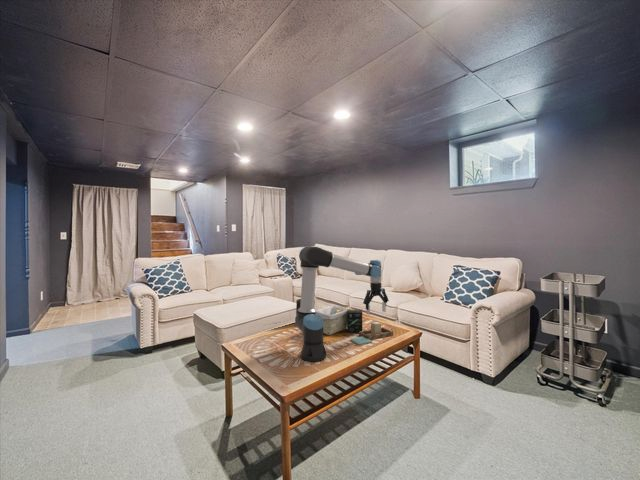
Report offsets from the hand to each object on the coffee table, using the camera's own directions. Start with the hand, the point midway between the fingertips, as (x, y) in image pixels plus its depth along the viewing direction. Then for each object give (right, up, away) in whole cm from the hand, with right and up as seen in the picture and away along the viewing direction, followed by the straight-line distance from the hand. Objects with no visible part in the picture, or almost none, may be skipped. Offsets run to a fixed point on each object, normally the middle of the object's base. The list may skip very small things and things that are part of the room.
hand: (376, 312), depth 203 cm
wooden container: (-51, -16, +31) cm, 62 cm away
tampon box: (-14, -16, +10) cm, 23 cm away
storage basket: (-31, -15, +12) cm, 37 cm away
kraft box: (0, -15, 0) cm, 15 cm away
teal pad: (-12, -16, -12) cm, 23 cm away
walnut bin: (0, -16, 0) cm, 16 cm away
